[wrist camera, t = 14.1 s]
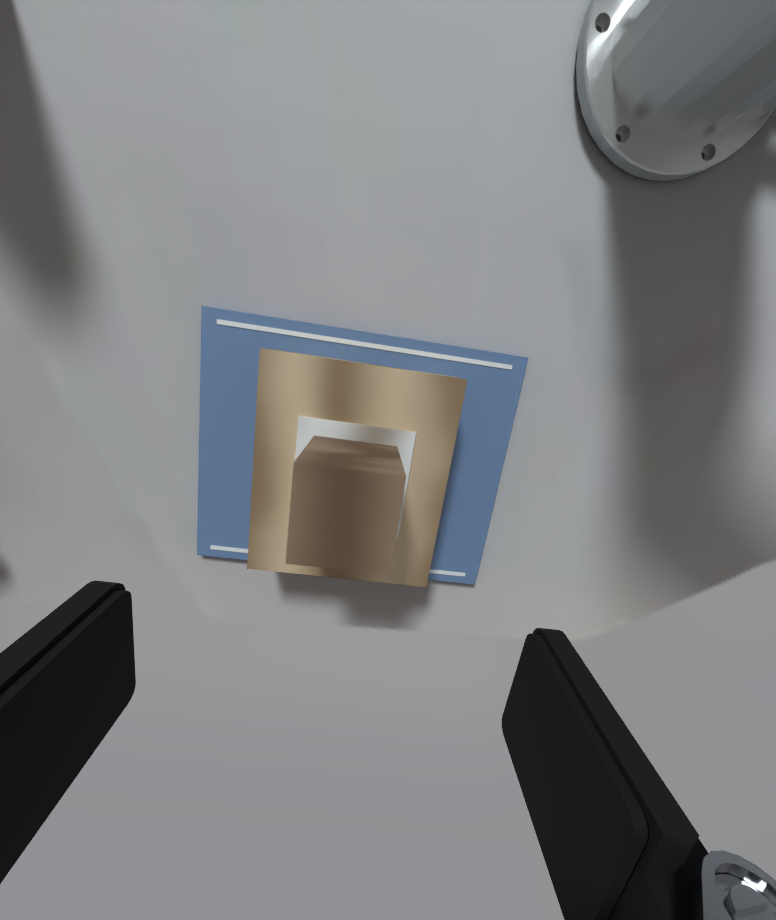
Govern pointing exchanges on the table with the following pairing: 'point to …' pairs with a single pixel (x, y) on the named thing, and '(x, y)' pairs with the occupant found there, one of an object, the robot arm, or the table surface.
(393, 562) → the oak base block
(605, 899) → the robot arm
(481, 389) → the blueprint board
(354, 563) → the walnut block
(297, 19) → the table surface
